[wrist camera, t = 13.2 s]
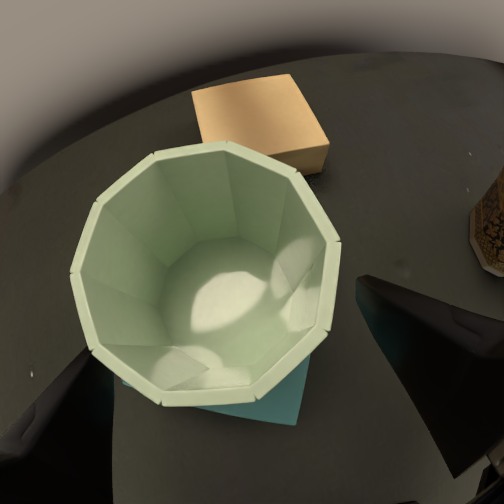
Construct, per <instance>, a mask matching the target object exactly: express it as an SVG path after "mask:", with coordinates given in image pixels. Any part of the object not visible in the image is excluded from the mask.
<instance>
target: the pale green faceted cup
mask: <svg viewBox="0 0 504 504" xmlns="http://www.w3.org/2000/svg"><path fill="white" fill-rule="evenodd" d="M96 201H97V202H94V203H93V206H92V208H91V211H90V213H89V216H88V219H87V221H86V224H85V227H84V230H83V232H82V235H81V238H80V241H79V244H78V247H77V250H76V253H75V256H74V259H73V263H72V266H71V269H70V273H72V274H71V275H70V280H71V285H72V289H73V294H74V298H75V302H76V306H77V310H78V314H79V317H80V321H81V325H82V328H83V332H84V335H85V338H86V341H87V345H88V348H89V350H90V351H92V355H93V356H95V357H96V358H97V359H98V360H99V361H100V362H102V363H103V364H104V365H105V366H107V367H108V368H109V369H110V370H111V371H113V372H114V373H115V374H116V375H118V376H119V377H120V378H122V379H123V380H124V381H125V382H127V383H128V384H129V385H131V386H132V387H133V388H135V389H136V390H138V391H139V392H140V393H142V394H143V395H145V396H146V397H147V398H149V399H150V400H152V401H153V402H155V403H156V404H158V405H160V404H162V406H164V407H186V406H213V405H228V404H240V403H250V402H255V400H256V398H257V399H258V400H260V399H261V398H262V397H264V396H265V395H266V394H267V393H268V392H269V391H270V390H272V389H273V388H274V387H275V386H276V385H277V384H278V383H279V382H281V381H282V380H283V379H284V378H285V377H286V376H287V375H288V374H289V373H290V372H291V371H293V370H294V369H295V368H296V367H297V366H298V365H299V364H300V363H301V362H302V361H303V360H304V359H305V358H306V357H307V356H308V355H309V354H310V353H311V352H312V351H313V350H314V349H315V348H316V347H317V346H318V345H319V344H320V343H321V342H322V341H323V340H324V339H325V338H326V337H327V336H328V333H327V332H328V331H330V330H331V326H332V319H333V312H334V305H335V298H336V291H337V283H338V274H339V265H340V256H341V246H342V244H341V243H340V242H339V241H340V237H339V235H338V234H337V232H336V230H335V228H334V227H333V225H332V223H331V222H330V220H329V218H328V217H327V215H326V213H325V212H324V210H323V208H322V207H321V205H320V203H319V202H318V200H317V198H316V197H315V195H314V194H313V192H312V190H311V189H310V187H309V186H308V184H307V182H306V181H305V179H304V178H303V176H302V175H301V173H300V172H297V169H295V168H293V167H291V166H289V165H286V164H284V163H282V162H280V161H277V160H275V159H273V158H270V157H268V156H266V155H263V154H261V153H259V152H256V151H254V150H252V149H249V148H247V147H244V146H242V145H239V144H237V143H234V142H232V141H228V142H227V141H226V140H223V141H215V142H208V143H201V144H195V145H189V146H183V147H177V148H171V149H166V150H161V151H156V152H154V154H152V153H151V154H150V155H148V156H147V157H146V158H145V159H143V160H142V161H141V162H139V163H138V164H137V165H136V166H134V167H133V168H132V169H131V170H129V171H128V172H127V173H126V174H125V175H123V176H122V177H121V178H120V179H119V180H117V181H116V182H115V183H114V184H113V185H112V186H110V187H109V188H108V189H107V190H106V191H105V192H103V193H102V194H101V195H100V196H99V197H98V198H97V199H96Z"/></svg>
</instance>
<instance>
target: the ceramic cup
mask: <svg viewBox="0 0 504 504" xmlns="http://www.w3.org/2000/svg"><path fill="white" fill-rule="evenodd" d="M469 241H470V244H471V246H472V248H473V250H474V252H475V254H476V256H477V258H478V260H479V262H480V264H481V266H482V268H483V269H485V270H487V271H489V272H491V273H492V274H494V275H496V276H500V277H504V167H503V169H502V171H501V172H500V174H499V176H498V177H497V179H496V180H495V181H494V183H493V184H492V185H491V187H490V188H489V189H488V191H487V192H486V194H485V195H484V196H483V198H482V199H481V200H480V201H479V203H478V204H477V205H476V206H475V208H474V209H473V210H472V211H471V213H470V235H469Z"/></svg>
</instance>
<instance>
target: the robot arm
mask: <svg viewBox="0 0 504 504" xmlns="http://www.w3.org/2000/svg"><path fill="white" fill-rule="evenodd" d="M356 302H357V305H358V307H359V309H360V311H361V313H362V315H363V317H364V319H365V321H366V323H367V325H368V327H369V329H370V331H371V333H372V335H373V337H374V339H375V340H376V342H377V344H378V345H379V347H380V348H381V350H382V352H383V353H384V355H385V356H386V358H387V360H388V361H389V363H390V365H391V366H392V368H393V369H394V371H395V373H396V374H397V376H398V378H399V379H400V381H401V383H402V384H403V386H404V388H405V389H406V391H407V393H408V395H409V396H410V398H411V400H412V401H413V403H414V405H415V407H416V408H417V410H418V412H419V414H420V415H421V417H422V419H423V421H424V423H425V424H426V426H427V428H428V430H429V431H430V434H431V436H432V438H433V439H434V441H435V443H436V445H437V447H438V449H439V451H440V453H441V454H442V456H443V458H444V460H445V462H446V464H447V466H448V468H449V470H450V472H451V474H452V476H453V478H454V479H455V478H457V477H458V476H460V475H461V474H463V473H464V472H465V471H467V470H468V469H469V468H471V467H472V466H473V465H475V464H476V463H477V462H479V461H480V460H481V459H482V458H484V457H485V456H487V457H488V459H489V461H490V462H491V464H490V465H489V466H487V467H486V468H485V469H484V470H483V473H482V476H481V480H480V483H479V487H478V490H477V493H476V496H475V498H473V499H472V500H471V501H469V502H468V503H466V504H504V321H500V320H496V319H493V318H489V317H486V316H482V315H479V314H476V313H472V312H470V311H467V310H464V309H461V308H458V307H456V306H453V305H449V304H447V303H445V302H442V301H439V300H437V299H434V298H431V297H428V296H426V295H423V294H420V293H418V292H415V291H412V290H409V289H407V288H404V287H401V286H398V285H395V284H393V283H390V282H387V281H384V280H381V279H379V278H376V277H373V276H370V275H364V276H360V277H358V278H357V279H356ZM113 411H114V372H113V371H111V370H110V369H109V368H108V367H107V366H105V365H104V364H103V363H102V362H100V361H99V360H98V359H97V358H96V357H95V356H93V355H92V351H90V350H89V348H88V346H87V347H86V348H85V349H84V350H83V351H82V352H81V353H80V354H79V355H78V356H77V357H76V358H75V359H74V360H73V361H72V362H71V363H70V364H69V365H68V366H67V367H66V368H65V369H64V370H63V371H62V372H61V373H60V375H59V376H58V377H57V378H56V379H55V380H54V381H53V382H52V383H51V384H50V385H49V386H48V387H47V388H46V390H45V391H44V392H43V393H42V394H41V395H40V396H39V397H38V398H37V399H36V400H35V402H34V403H33V404H32V405H31V406H30V407H29V408H28V409H27V410H26V411H25V413H24V414H23V415H22V416H21V417H20V418H19V419H18V420H17V421H16V422H15V423H14V424H13V425H12V426H11V427H10V428H9V429H8V430H7V431H6V432H5V433H4V434H3V435H2V436H1V437H0V504H113V488H112V431H113ZM399 504H419V503H418V502H417V501H410V502H405V503H399Z"/></svg>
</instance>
